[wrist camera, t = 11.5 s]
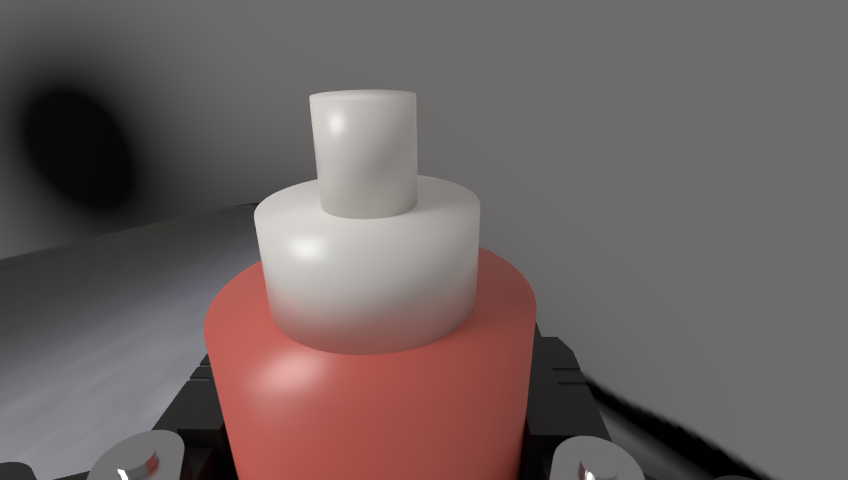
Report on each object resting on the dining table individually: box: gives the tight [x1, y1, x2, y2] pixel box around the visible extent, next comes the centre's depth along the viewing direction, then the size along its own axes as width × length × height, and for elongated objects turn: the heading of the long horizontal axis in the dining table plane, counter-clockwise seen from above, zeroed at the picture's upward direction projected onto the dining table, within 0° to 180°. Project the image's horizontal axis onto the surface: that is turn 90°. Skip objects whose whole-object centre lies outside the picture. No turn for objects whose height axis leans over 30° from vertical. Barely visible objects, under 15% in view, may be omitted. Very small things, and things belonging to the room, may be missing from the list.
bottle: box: [204, 90, 536, 480], centre depth 9 cm, size 5×5×14 cm
